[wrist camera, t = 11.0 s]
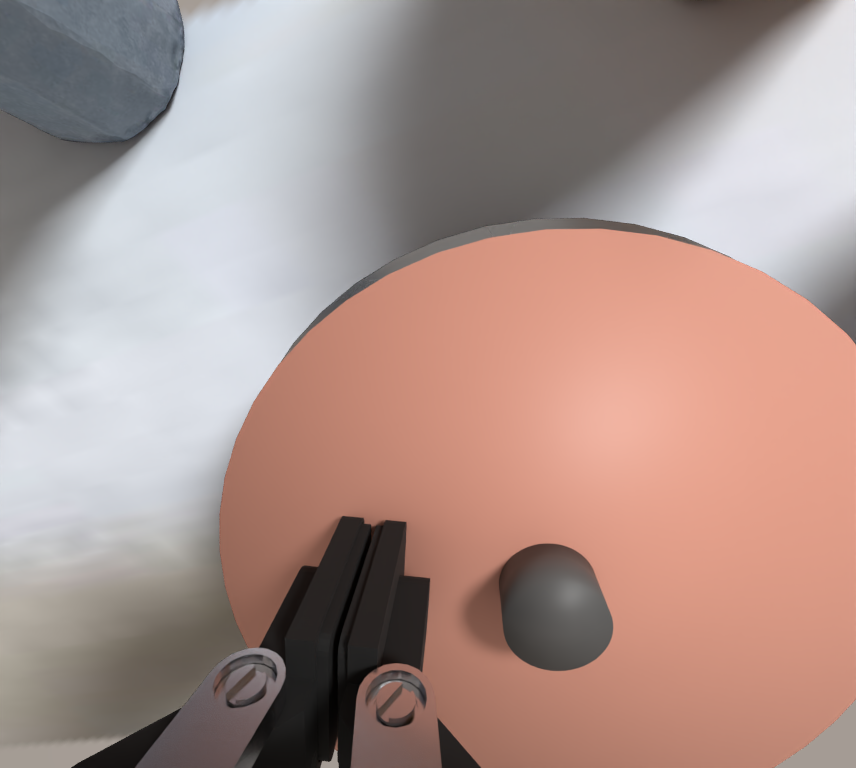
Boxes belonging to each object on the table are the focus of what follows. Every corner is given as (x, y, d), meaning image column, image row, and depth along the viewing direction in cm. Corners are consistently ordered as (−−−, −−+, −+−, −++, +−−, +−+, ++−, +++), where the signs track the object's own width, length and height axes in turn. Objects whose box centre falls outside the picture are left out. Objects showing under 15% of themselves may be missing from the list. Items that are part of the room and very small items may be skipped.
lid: (991, 253, 10) (1168, 254, 7) (778, 811, 15) (841, 926, 12) (220, 211, 11) (147, 199, 8) (255, 744, 16) (215, 837, 13)
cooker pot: (743, 245, 19) (1007, 239, 10) (661, 593, 24) (784, 815, 15) (332, 222, 21) (213, 198, 11) (333, 558, 26) (250, 742, 16)
